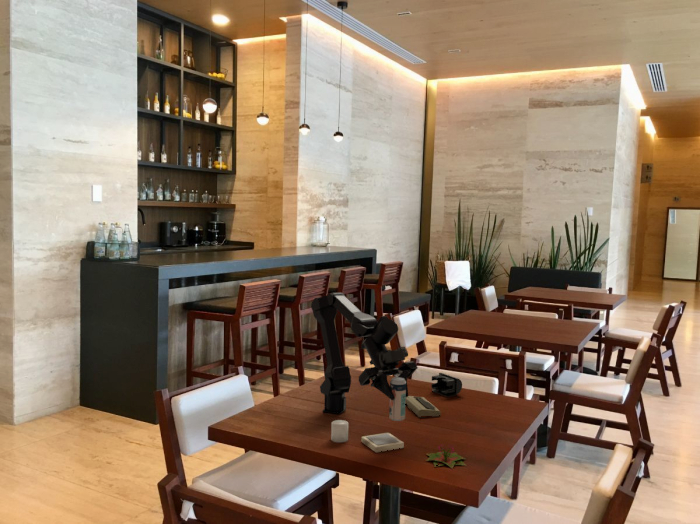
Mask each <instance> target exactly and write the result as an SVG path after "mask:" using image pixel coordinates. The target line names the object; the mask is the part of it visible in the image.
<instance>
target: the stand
mask: <svg viewBox="0 0 700 524" xmlns="http://www.w3.org/2000/svg"><path fill="white" fill-rule="evenodd" d="M360 439H361V442H362V444H364V445H365V446H366V447H368V448H369V449H371V450H372V451H373V452H375V453H382V452H387V450H388V451H392V450H393V449H394V450H399V448H400V449H404V448H405V446H404V445H405V443H404V441H402V440H401V439H400V438H398V437H396V436H394V435H393V434H391V433H390V432H383V433H376V434H370V435H364V436H361V438H360ZM381 451H382V452H381Z"/></svg>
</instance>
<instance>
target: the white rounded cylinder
mask: <svg viewBox="0 0 700 524" xmlns="http://www.w3.org/2000/svg"><path fill="white" fill-rule="evenodd" d="M330 429H331V430H330V433H331V434H330V438H331V439H330V440H331V441H332V442H333V443H346V442H348V441H349V422H348V421H346V420H344V419H343V420H342V419H337V420H336V419H335V420H333V421H331V428H330Z"/></svg>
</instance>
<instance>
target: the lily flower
mask: <svg viewBox="0 0 700 524" xmlns="http://www.w3.org/2000/svg"><path fill="white" fill-rule="evenodd" d="M449 445H450V444H447V450H446V449H445V447H444V446H443V445H442V444H440V446H438V450H439V451H437V452H436V453H433V452H431V453H430V452H429V453H426V455H427V456H428V458H427V459H425V460H424V461H425V462H426V461H427V462H428V461H433V467H434V468H435V467H440V466H446V465H447V466H448V467H449V468H450V469H452V470H453V468H454V466H457V465H458V466H465V467H466V466H467V464H466V463H465V462H464V461H462V460H466V458H465V457H463V456H461V455H459V454H458V453H457V452H454V451H455V449H454V447H453V446H452V445H450V446H449ZM448 447H449V448H448ZM450 451H451V452H450ZM443 459H444V461H443ZM447 460H449V461H448V462H447ZM440 462H441V463H442V464H439V465H438V463H440ZM436 465H438V466H436Z"/></svg>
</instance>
